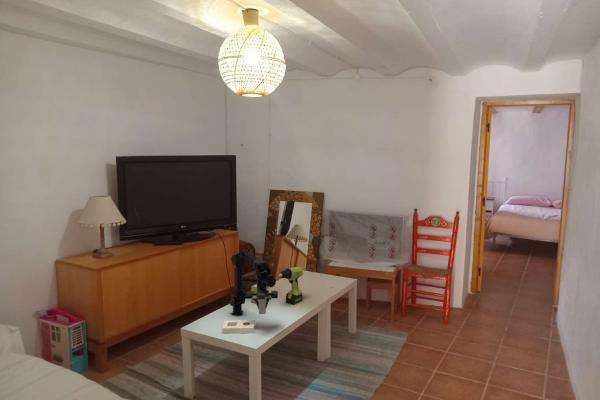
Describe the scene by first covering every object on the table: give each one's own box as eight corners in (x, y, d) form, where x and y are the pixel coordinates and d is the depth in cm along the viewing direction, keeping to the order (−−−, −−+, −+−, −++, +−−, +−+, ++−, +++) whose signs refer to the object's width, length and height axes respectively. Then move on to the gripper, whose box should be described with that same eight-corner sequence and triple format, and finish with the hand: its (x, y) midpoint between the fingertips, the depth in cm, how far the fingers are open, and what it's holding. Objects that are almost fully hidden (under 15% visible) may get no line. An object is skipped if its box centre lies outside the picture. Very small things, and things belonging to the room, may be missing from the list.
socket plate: (225, 325, 265) (225, 320, 264) (255, 324, 265) (255, 319, 265) (222, 333, 253) (222, 328, 252) (253, 332, 253) (253, 327, 253)
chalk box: (250, 302, 302) (250, 282, 300) (258, 298, 310) (257, 278, 308) (262, 304, 297) (261, 283, 296) (269, 300, 306) (268, 280, 304)
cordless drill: (283, 309, 288) (282, 272, 285) (275, 307, 292) (274, 271, 289) (304, 299, 306) (304, 264, 303) (296, 297, 310) (296, 263, 307)
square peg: (259, 311, 262) (259, 298, 261) (266, 311, 262) (265, 298, 261) (258, 314, 258) (258, 301, 257) (265, 314, 258) (265, 300, 257)
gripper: (244, 287, 249) (245, 314, 251) (277, 287, 250) (277, 313, 252) (246, 281, 261) (247, 307, 262) (277, 281, 261) (278, 306, 263)
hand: (262, 308), depth 260 cm, fingers closed on square peg, 4 cm apart
